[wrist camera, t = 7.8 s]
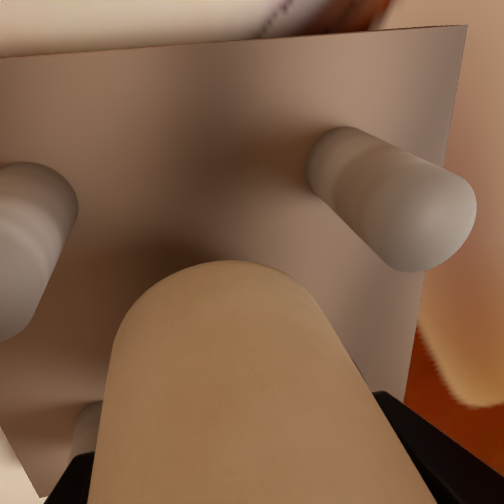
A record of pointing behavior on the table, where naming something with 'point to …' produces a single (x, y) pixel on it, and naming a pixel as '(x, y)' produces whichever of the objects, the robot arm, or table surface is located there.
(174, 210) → the peg holder
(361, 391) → the candle
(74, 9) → the table surface
